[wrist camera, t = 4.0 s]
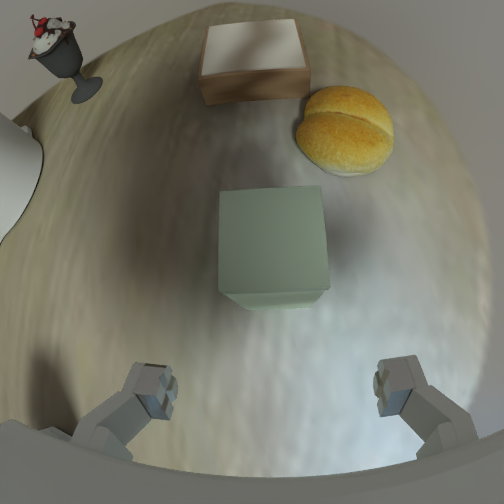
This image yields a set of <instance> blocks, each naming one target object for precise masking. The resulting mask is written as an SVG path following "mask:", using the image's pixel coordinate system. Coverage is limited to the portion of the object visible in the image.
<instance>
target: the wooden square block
mask: <svg viewBox="0 0 504 504" xmlns="http://www.w3.org/2000/svg"><path fill="white" fill-rule="evenodd" d="M310 77H311V69H310V65H309V61H308V57H307V53H306V49H305V45H304V42H303V38H302V34H301V31H300V27H299V24H298V20H297V19H279V20H261V21H249V22H239V23H231V24H223V25H216V26H210V27H206V31H205V37H204V42H203V48H202V53H201V59H200V65H199V71H198V78H197V81H198V84H199V87H200V90H201V93H202V95H203V98H204V101H205V104H206V106H209V105H217V104H225V103H234V102H244V101H256V100H269V99H288V98H309V97H310Z"/></svg>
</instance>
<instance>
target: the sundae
mask: <svg viewBox="0 0 504 504" xmlns="http://www.w3.org/2000/svg"><path fill="white" fill-rule="evenodd" d="M31 19H32V22H33V19H34V15H32V16H31ZM34 20H37V21H39V22H38V26H37V27H36V26H35V24H34V22H33V26H34V28H35V32H34V46H33V48H32V50H31V53H30V55H29V58H28V59H37V60H38V61H39V62H40V63H42V64H43V65H44V66H45V67H46V68H47V69H48V70H49V71H50V72H51V73H53V74H54V75H55V76H57V77H58V78H69V77H71V78H72V79H73V80H74V81H75V83H76V85H77V88H76V90H75V91H74V92H73V94H72V97H71V101H72V102H73V103H74V104H79V103H82V102H84V101H86V100H88V99H89V98H91V97H92V96H93V95H94V94H95V93H96V92H97V91H98V90H99V88H100V87H101V85H102V78H100V77H92V78H89V79H87V80H86V79H84V78H83V77H82V75H81V74H80V72H79V71H80V68H81V66H82V61H83V57H82V54H81V51H80V49H79V46H78V44H77V42H76V39H75V37H74V34H73V30H74V28H75V27H76V24H75V23H74V22H73V21H68V22H66V21H65V22H62V19H61V17H59V18H48V19H47V18H42V19H40V20H38V19H34Z"/></svg>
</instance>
